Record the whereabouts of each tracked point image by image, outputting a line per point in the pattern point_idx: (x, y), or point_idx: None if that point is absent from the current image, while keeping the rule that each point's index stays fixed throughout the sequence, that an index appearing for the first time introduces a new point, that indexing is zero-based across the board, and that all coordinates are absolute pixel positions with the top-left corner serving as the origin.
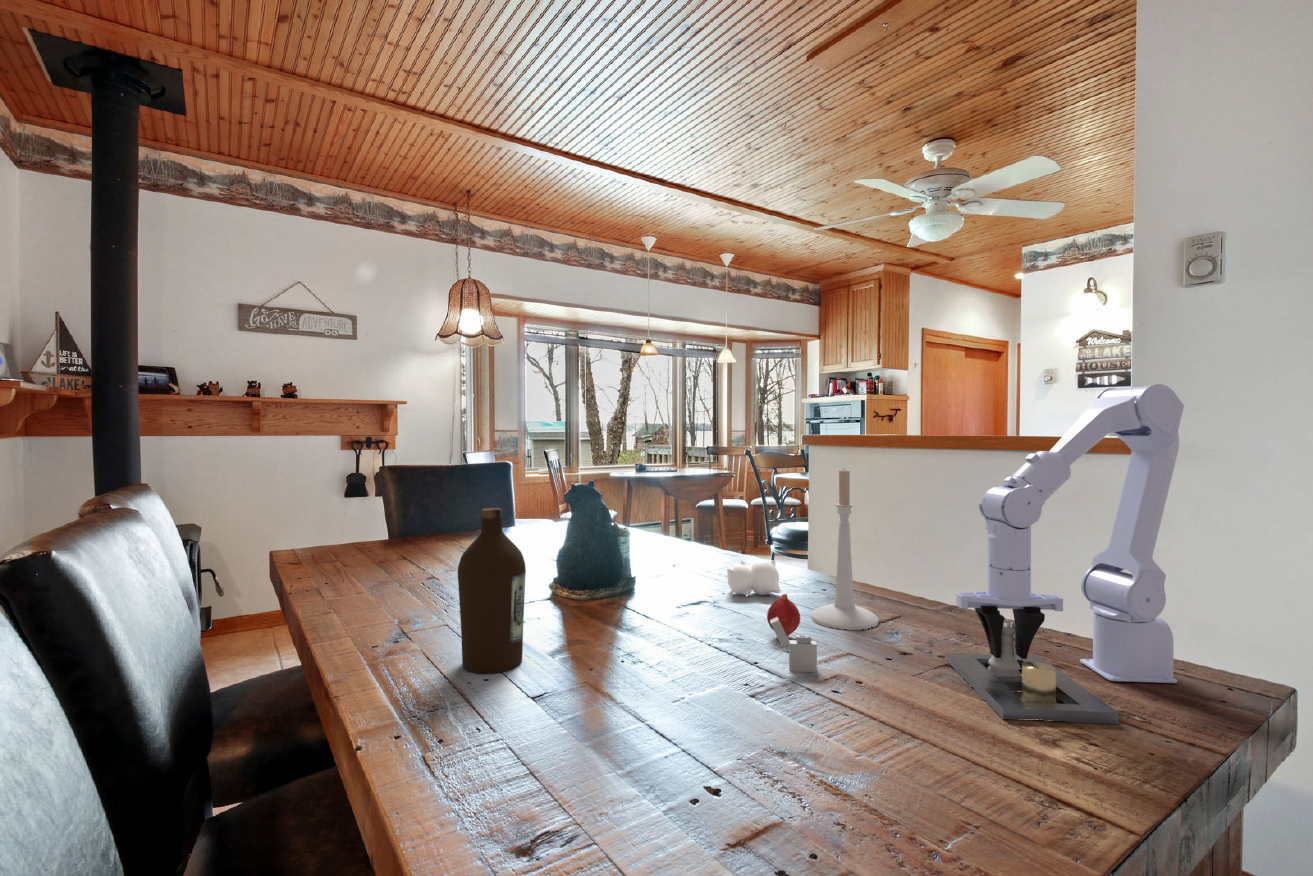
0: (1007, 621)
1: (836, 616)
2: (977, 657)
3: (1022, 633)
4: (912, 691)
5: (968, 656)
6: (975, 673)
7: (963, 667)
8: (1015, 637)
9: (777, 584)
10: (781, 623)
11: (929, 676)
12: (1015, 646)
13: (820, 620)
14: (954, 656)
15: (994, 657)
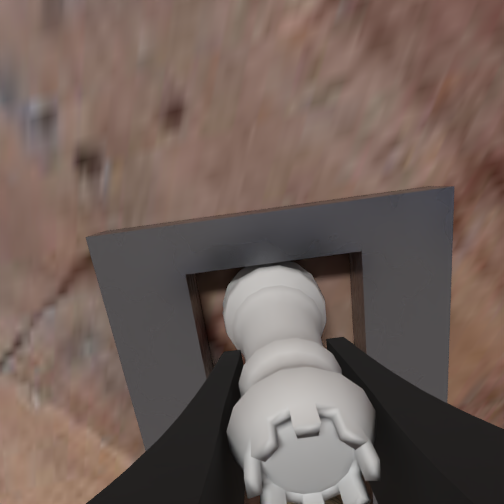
0: (345, 441)
1: None
2: (196, 261)
3: (382, 483)
4: (3, 466)
5: (163, 256)
6: (159, 414)
7: (129, 372)
8: (354, 371)
9: None
10: None
11: (44, 363)
12: (335, 354)
13: None
14: (109, 269)
15: (238, 343)
